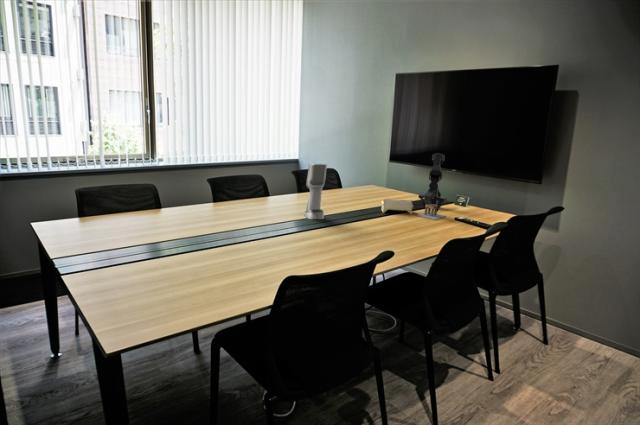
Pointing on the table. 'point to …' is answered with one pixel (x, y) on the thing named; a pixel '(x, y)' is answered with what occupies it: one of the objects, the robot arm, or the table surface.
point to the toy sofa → (397, 205)
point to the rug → (431, 216)
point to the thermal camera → (315, 190)
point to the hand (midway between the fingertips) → (431, 210)
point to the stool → (430, 209)
